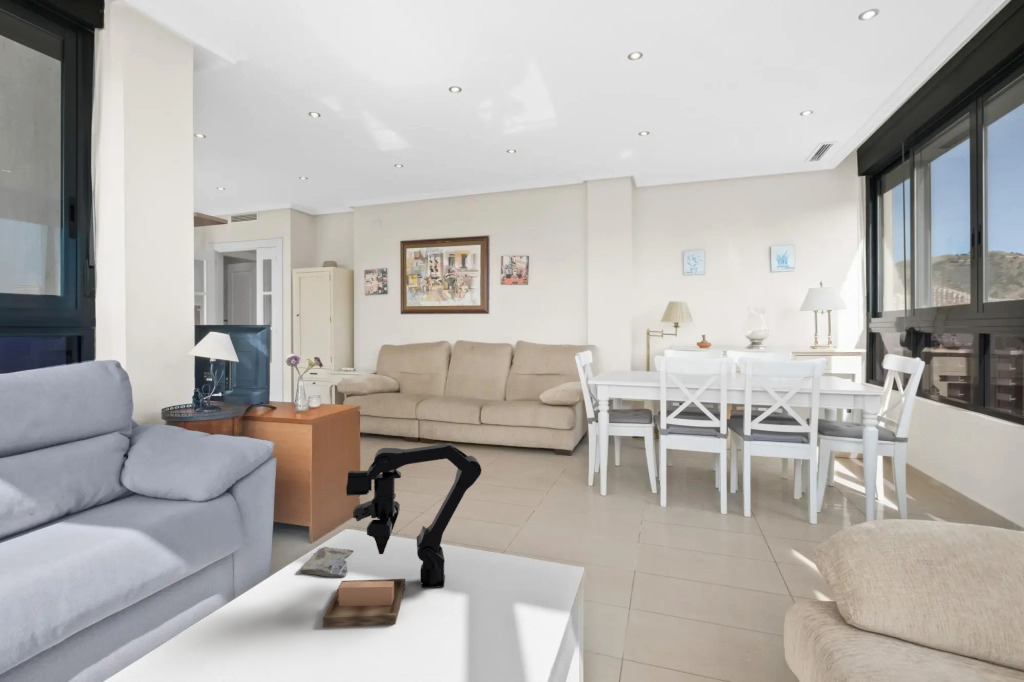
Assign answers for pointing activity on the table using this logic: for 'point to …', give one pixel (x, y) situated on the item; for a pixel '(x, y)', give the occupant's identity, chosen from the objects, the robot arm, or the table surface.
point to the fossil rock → (328, 562)
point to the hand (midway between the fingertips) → (384, 546)
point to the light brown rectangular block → (366, 593)
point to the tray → (364, 609)
